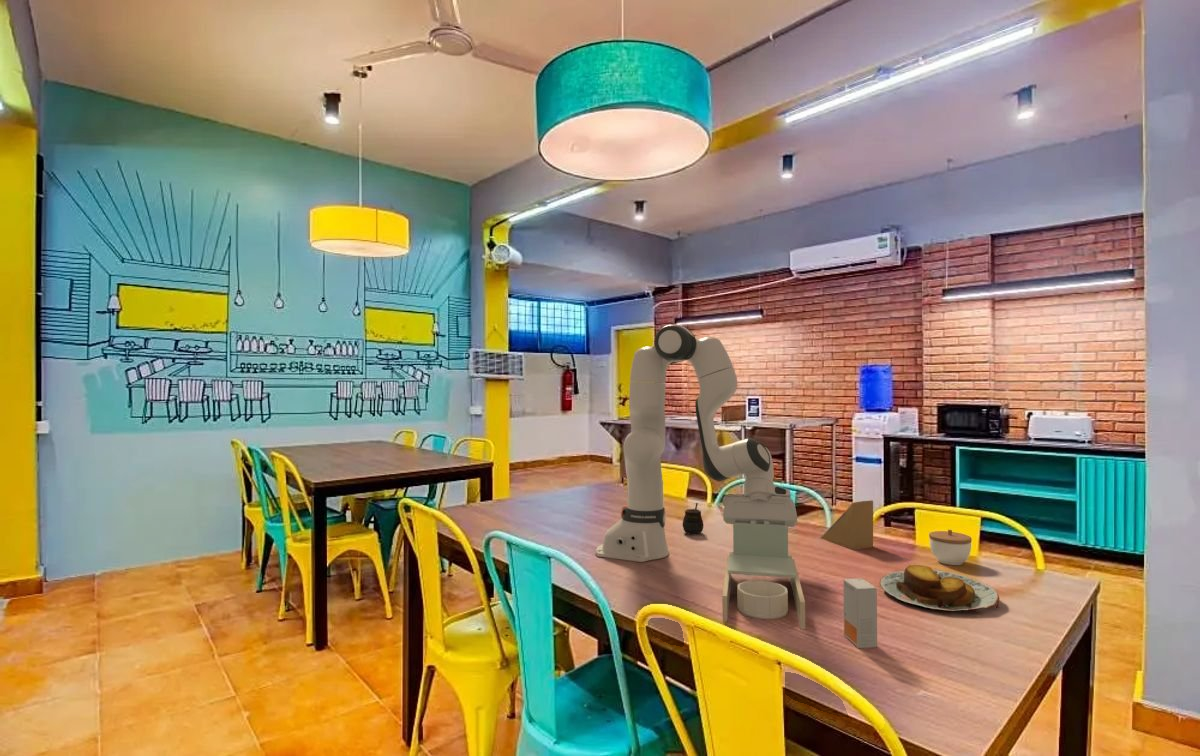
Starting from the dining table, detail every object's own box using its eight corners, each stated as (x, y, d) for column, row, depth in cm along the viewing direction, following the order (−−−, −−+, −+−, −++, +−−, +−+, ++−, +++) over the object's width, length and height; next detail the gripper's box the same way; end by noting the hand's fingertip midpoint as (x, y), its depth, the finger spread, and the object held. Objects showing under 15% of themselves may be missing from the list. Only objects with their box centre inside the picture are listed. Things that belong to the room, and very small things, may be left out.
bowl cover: (727, 573, 147) (727, 537, 147) (729, 555, 163) (729, 522, 163) (796, 578, 144) (795, 541, 144) (791, 558, 159) (791, 525, 159)
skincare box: (842, 635, 125) (842, 578, 125) (862, 635, 126) (862, 577, 126) (857, 648, 119) (857, 588, 119) (878, 647, 120) (877, 587, 120)
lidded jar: (931, 565, 172) (931, 532, 172) (927, 555, 182) (926, 524, 182) (975, 569, 168) (975, 536, 168) (967, 558, 178) (967, 527, 178)
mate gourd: (680, 535, 208) (680, 506, 208) (685, 529, 215) (684, 501, 215) (701, 536, 205) (701, 507, 205) (705, 531, 212) (705, 503, 212)
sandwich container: (838, 535, 206) (838, 492, 206) (874, 547, 192) (873, 500, 192) (818, 538, 203) (818, 493, 203) (853, 550, 189) (852, 502, 189)
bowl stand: (722, 621, 133) (722, 595, 133) (727, 575, 164) (727, 554, 164) (805, 629, 129) (805, 602, 129) (794, 580, 160) (794, 559, 160)
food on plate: (1024, 611, 139) (1024, 582, 139) (936, 623, 132) (936, 593, 132) (936, 576, 163) (936, 552, 163) (858, 585, 157) (858, 560, 157)
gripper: (722, 487, 176) (721, 529, 167) (795, 490, 171) (798, 533, 162) (723, 499, 180) (722, 540, 171) (794, 502, 175) (797, 545, 166)
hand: (760, 537), depth 166 cm, fingers closed
